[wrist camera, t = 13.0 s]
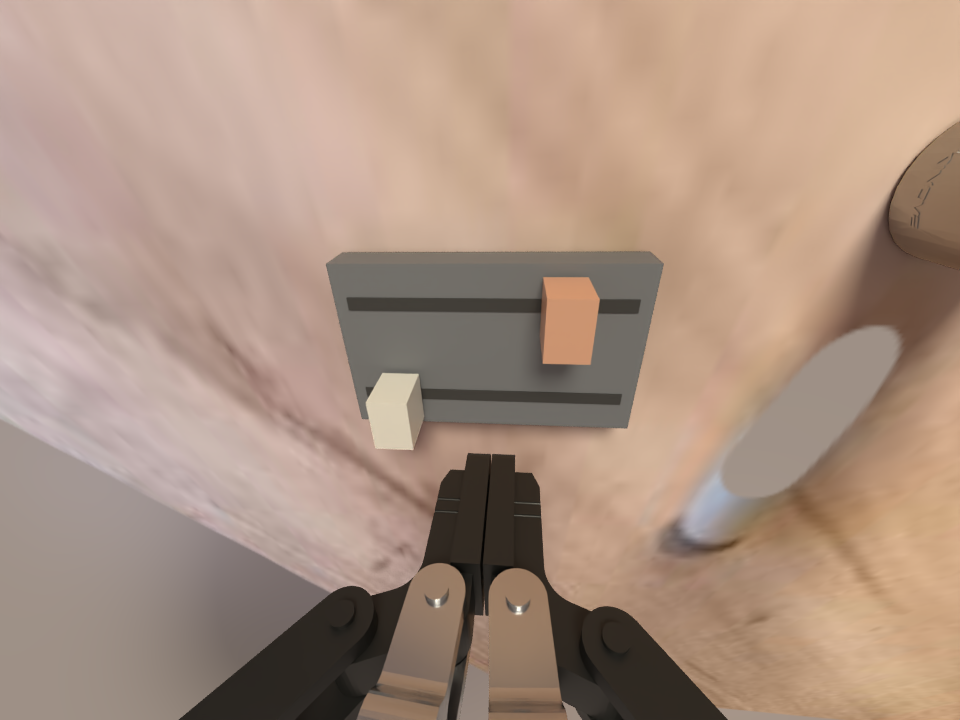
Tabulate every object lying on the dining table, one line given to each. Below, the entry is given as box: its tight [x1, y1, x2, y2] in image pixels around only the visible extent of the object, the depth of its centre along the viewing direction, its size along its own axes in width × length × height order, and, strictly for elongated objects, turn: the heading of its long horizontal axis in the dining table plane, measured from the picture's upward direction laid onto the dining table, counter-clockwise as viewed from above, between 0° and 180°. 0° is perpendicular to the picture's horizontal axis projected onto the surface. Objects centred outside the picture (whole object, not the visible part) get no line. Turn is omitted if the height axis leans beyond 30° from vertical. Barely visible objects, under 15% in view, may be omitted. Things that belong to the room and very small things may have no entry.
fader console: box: [326, 252, 664, 428], centre depth 31 cm, size 23×14×3 cm, turn 91°
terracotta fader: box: [540, 277, 600, 365], centre depth 25 cm, size 3×4×4 cm
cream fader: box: [366, 373, 424, 450], centre depth 30 cm, size 3×4×4 cm
